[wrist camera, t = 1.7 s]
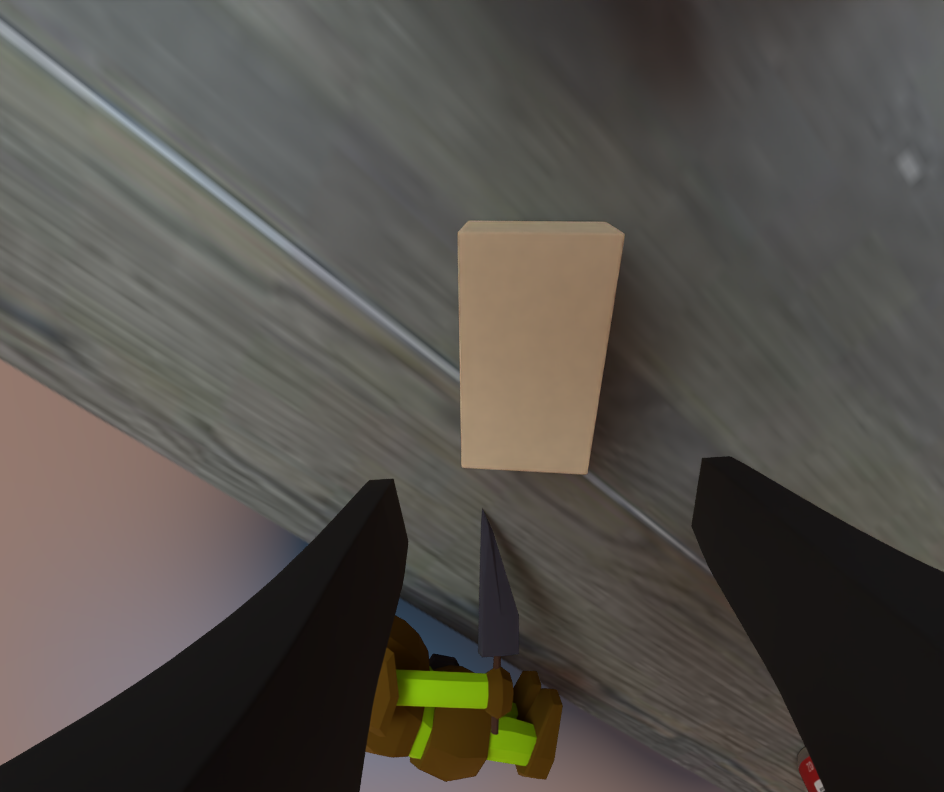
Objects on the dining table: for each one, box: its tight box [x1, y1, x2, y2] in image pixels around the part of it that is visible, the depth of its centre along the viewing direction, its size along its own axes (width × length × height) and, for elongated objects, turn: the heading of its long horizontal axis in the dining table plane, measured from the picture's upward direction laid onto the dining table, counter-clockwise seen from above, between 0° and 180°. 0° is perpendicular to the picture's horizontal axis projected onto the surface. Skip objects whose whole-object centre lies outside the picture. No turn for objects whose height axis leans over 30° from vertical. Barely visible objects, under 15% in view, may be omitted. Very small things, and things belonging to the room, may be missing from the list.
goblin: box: [366, 508, 563, 782], centre depth 24 cm, size 10×14×15 cm
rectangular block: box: [458, 221, 625, 475], centre depth 16 cm, size 9×5×3 cm, turn 0°
